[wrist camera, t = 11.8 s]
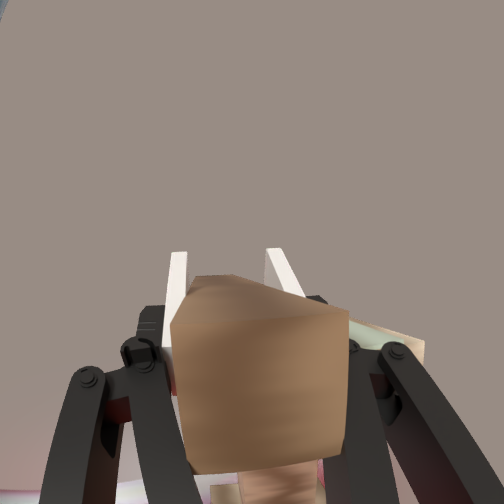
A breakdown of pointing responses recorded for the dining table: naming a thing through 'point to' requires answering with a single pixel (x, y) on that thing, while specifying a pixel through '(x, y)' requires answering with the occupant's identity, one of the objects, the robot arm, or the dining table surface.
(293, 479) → the shelf stand
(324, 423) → the brown block
